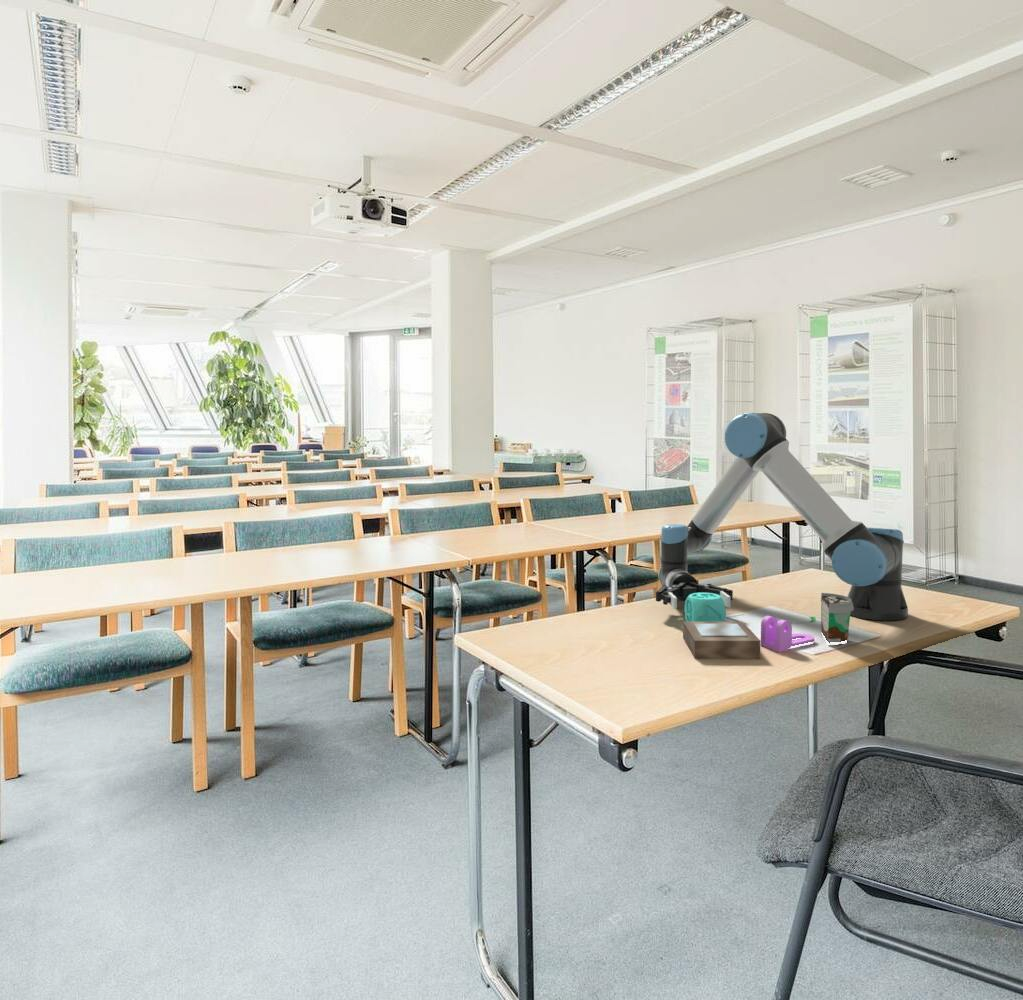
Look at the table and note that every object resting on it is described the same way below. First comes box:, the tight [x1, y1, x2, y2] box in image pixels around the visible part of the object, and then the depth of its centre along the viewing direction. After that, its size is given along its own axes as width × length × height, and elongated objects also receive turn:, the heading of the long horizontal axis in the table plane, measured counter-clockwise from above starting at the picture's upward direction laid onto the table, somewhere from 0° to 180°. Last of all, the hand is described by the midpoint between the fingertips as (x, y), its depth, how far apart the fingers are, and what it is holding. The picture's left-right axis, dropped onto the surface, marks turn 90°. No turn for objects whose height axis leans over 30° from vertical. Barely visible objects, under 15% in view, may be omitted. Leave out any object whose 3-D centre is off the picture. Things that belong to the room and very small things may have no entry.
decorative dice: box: [684, 593, 727, 622], centre depth 190 cm, size 8×8×8 cm
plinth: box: [682, 621, 761, 660], centre depth 172 cm, size 14×16×4 cm
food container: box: [820, 592, 854, 643], centre depth 176 cm, size 12×6×10 cm, turn 166°
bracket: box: [760, 615, 815, 653], centre depth 174 cm, size 13×6×7 cm, turn 119°
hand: (702, 602), depth 191 cm, fingers open, 13 cm apart
